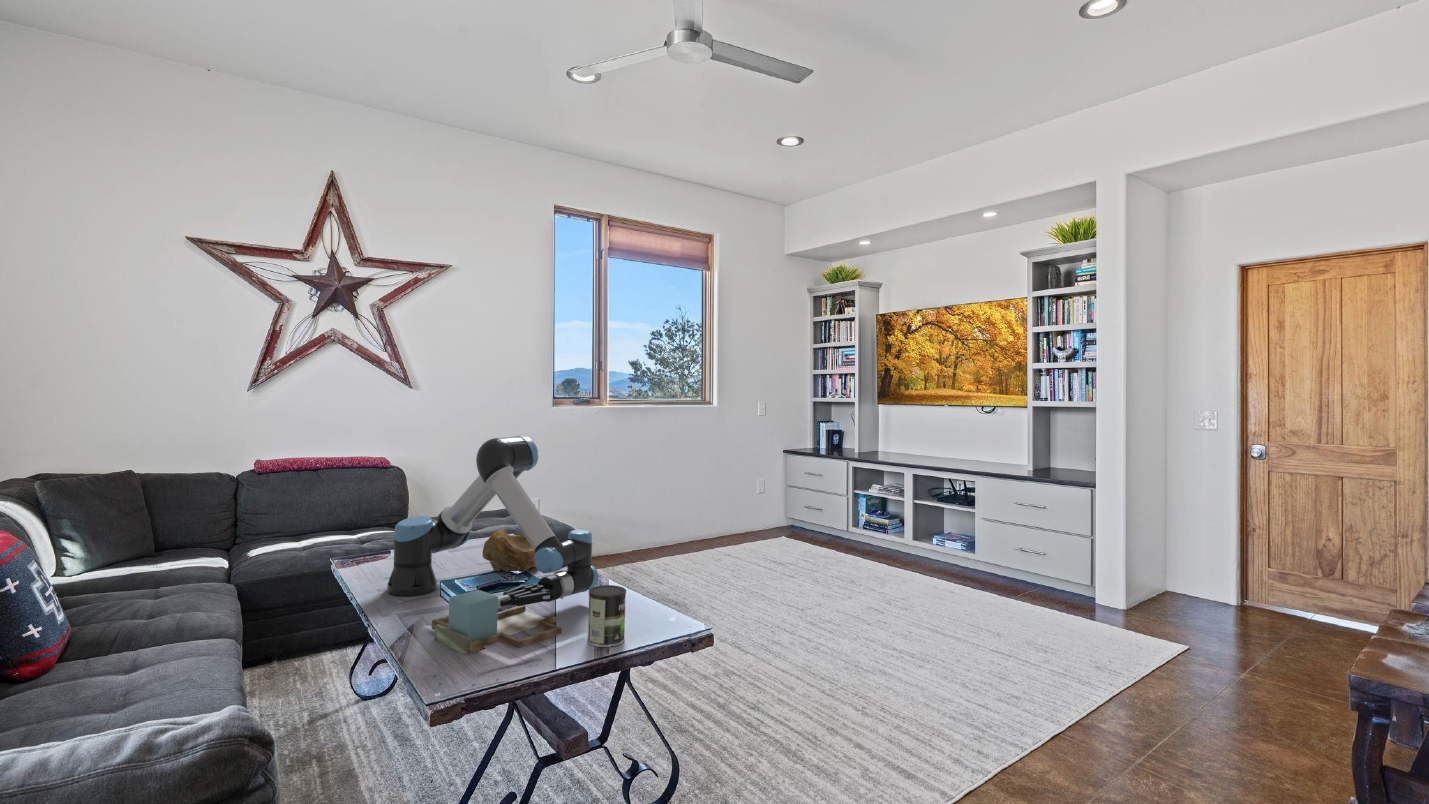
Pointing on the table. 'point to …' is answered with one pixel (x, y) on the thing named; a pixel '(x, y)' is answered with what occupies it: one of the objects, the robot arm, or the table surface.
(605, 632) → the coffee can
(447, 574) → the table surface
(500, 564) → the rough brown rock
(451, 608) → the teal block
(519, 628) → the trap lane
